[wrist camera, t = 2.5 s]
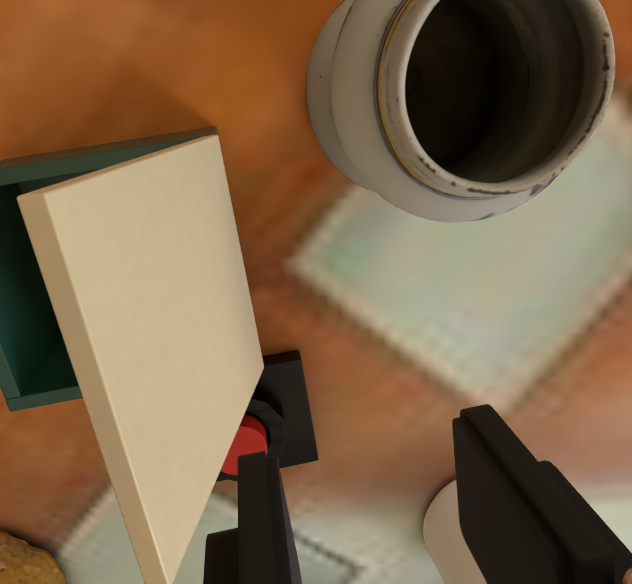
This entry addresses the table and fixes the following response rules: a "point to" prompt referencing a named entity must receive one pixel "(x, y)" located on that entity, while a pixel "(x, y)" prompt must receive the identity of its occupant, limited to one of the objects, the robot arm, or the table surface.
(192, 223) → the lid
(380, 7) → the apothecary jar
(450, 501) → the coffeepot
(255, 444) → the button
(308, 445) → the switch block
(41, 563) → the bagel
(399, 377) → the table surface
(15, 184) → the box
